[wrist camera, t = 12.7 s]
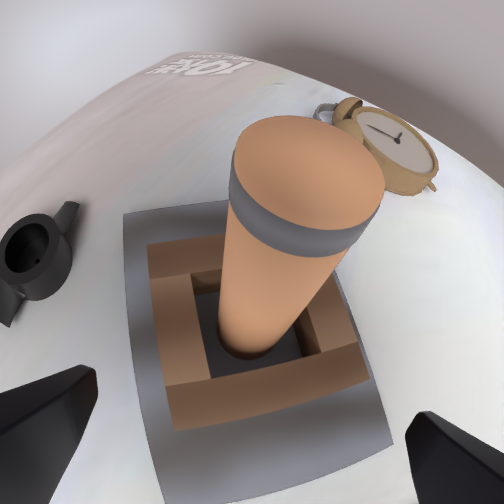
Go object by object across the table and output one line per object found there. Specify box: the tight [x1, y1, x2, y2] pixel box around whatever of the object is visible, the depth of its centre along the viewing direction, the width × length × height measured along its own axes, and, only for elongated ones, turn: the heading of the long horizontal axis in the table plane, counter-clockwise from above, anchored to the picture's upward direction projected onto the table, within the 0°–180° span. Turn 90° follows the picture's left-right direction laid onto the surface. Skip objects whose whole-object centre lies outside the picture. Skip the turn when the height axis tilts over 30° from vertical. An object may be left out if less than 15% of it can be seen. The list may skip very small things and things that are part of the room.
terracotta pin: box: [217, 116, 385, 360], centre depth 12 cm, size 4×4×13 cm
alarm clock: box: [313, 97, 439, 196], centre depth 29 cm, size 11×5×15 cm
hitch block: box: [123, 200, 393, 504], centre depth 17 cm, size 20×14×4 cm
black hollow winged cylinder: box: [0, 201, 80, 328], centre depth 18 cm, size 8×10×3 cm
